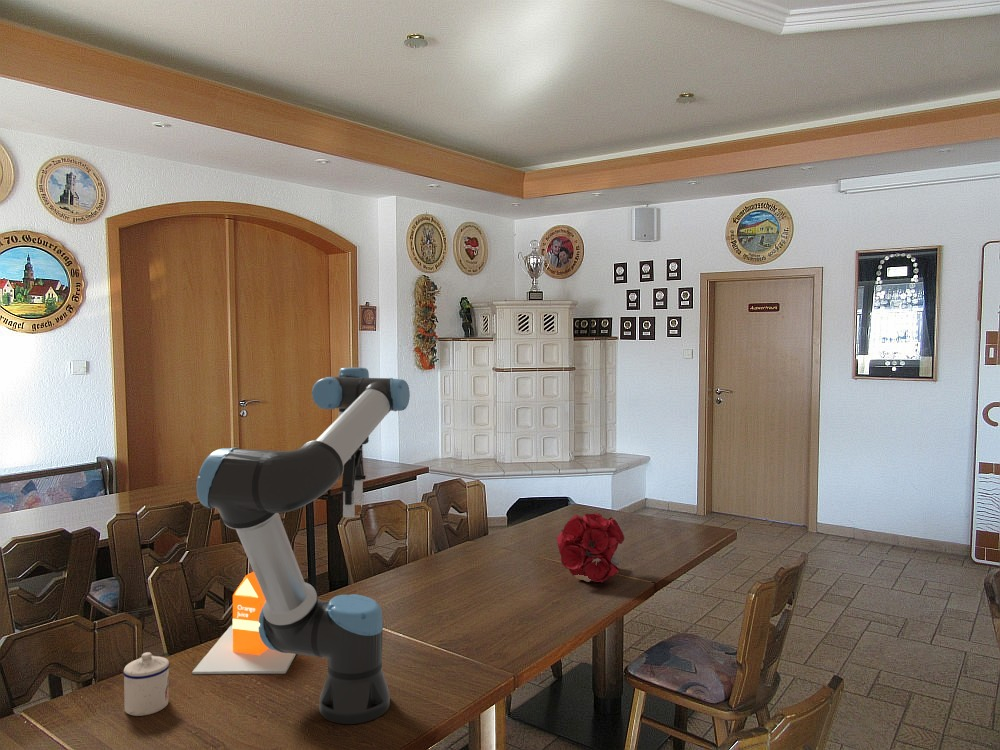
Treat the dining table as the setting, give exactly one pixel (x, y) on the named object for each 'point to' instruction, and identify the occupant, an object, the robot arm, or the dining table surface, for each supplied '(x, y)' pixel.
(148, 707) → the teacup with lid
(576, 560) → the bouquet
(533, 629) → the dining table surface
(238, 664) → the rubber mat
